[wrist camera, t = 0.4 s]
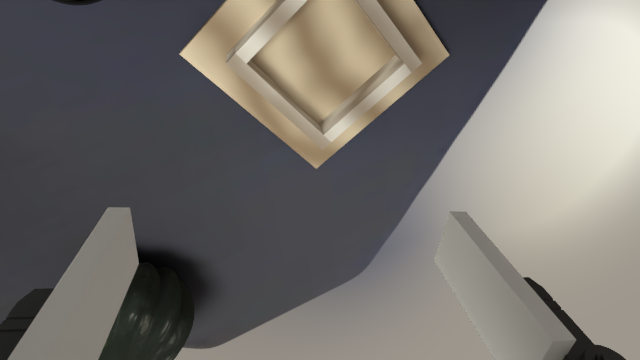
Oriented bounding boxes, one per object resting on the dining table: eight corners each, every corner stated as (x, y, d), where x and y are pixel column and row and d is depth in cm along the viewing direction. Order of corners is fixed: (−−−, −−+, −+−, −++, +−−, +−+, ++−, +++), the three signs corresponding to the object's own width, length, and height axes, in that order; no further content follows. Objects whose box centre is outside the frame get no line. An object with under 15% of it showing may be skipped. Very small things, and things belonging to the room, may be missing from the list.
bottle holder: (331, -121, 28) (341, -124, 25) (444, 52, 37) (461, 63, 35) (180, 50, 33) (175, 63, 30) (314, 163, 42) (320, 181, 40)
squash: (146, 244, 38) (30, 397, 31) (235, 306, 47) (161, 434, 40) (93, 227, 47) (-6, 343, 40) (176, 282, 56) (107, 383, 49)
